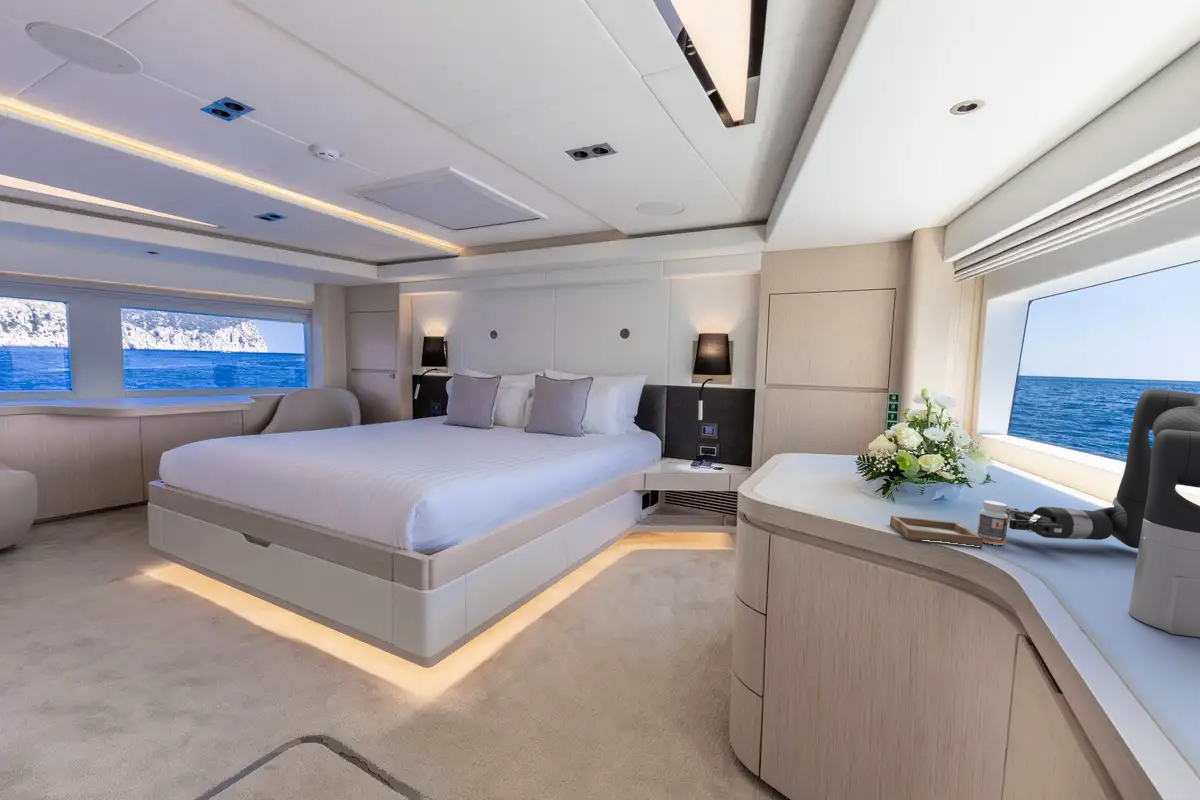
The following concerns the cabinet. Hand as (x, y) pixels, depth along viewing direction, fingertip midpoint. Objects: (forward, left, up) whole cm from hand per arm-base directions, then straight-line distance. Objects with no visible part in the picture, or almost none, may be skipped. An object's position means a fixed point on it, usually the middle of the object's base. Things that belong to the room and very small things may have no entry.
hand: (996, 518), depth 129 cm
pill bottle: (0, +1, -6) cm, 6 cm away
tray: (0, +14, -6) cm, 15 cm away
